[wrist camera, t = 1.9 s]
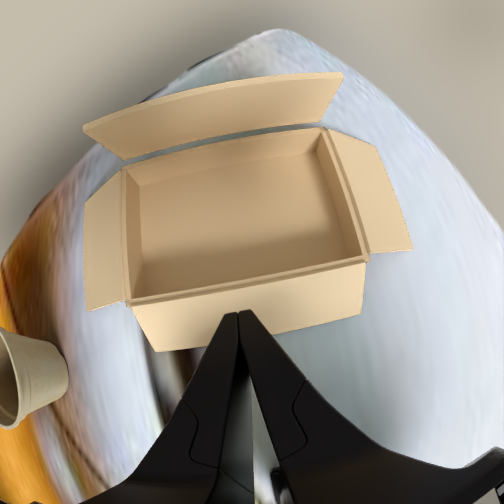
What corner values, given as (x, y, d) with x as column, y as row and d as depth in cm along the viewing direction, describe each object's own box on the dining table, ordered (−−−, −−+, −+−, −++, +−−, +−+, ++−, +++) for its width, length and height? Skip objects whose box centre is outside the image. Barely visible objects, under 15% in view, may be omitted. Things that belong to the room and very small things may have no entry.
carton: (422, 294, 21) (446, 288, 18) (94, 356, 21) (70, 359, 17) (372, 144, 25) (384, 121, 21) (86, 200, 25) (66, 184, 21)
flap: (319, 121, 21) (343, 78, 14) (124, 160, 21) (82, 131, 14) (317, 116, 21) (341, 72, 14) (123, 155, 21) (83, 125, 14)
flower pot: (15, 340, 21) (-40, 336, 13) (61, 311, 22) (-2, 302, 14) (43, 417, 19) (-10, 432, 11) (96, 401, 20) (37, 423, 12)
